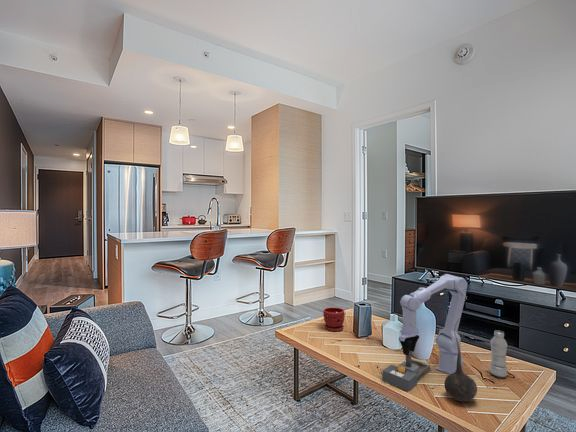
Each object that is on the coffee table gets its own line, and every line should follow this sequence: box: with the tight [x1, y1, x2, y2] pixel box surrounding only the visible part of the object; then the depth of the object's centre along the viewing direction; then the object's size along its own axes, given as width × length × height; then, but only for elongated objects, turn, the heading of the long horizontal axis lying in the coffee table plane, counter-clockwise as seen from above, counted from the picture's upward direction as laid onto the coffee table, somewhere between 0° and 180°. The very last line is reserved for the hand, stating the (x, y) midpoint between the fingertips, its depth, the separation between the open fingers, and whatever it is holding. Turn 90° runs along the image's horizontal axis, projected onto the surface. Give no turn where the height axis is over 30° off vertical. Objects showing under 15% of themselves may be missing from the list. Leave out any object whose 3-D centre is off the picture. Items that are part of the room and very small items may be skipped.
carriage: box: [397, 353, 419, 374], centre depth 146 cm, size 7×6×8 cm
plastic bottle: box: [489, 329, 508, 378], centre depth 147 cm, size 6×7×20 cm
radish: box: [444, 321, 478, 403], centre depth 129 cm, size 11×14×30 cm
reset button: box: [397, 364, 405, 374], centre depth 141 cm, size 3×3×4 cm
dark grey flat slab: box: [411, 359, 431, 383], centre depth 149 cm, size 10×16×2 cm, turn 134°
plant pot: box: [322, 307, 346, 332], centre depth 204 cm, size 13×13×12 cm
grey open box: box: [381, 364, 418, 392], centre depth 140 cm, size 12×8×5 cm, turn 44°
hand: (408, 352), depth 146 cm, fingers open, 5 cm apart
